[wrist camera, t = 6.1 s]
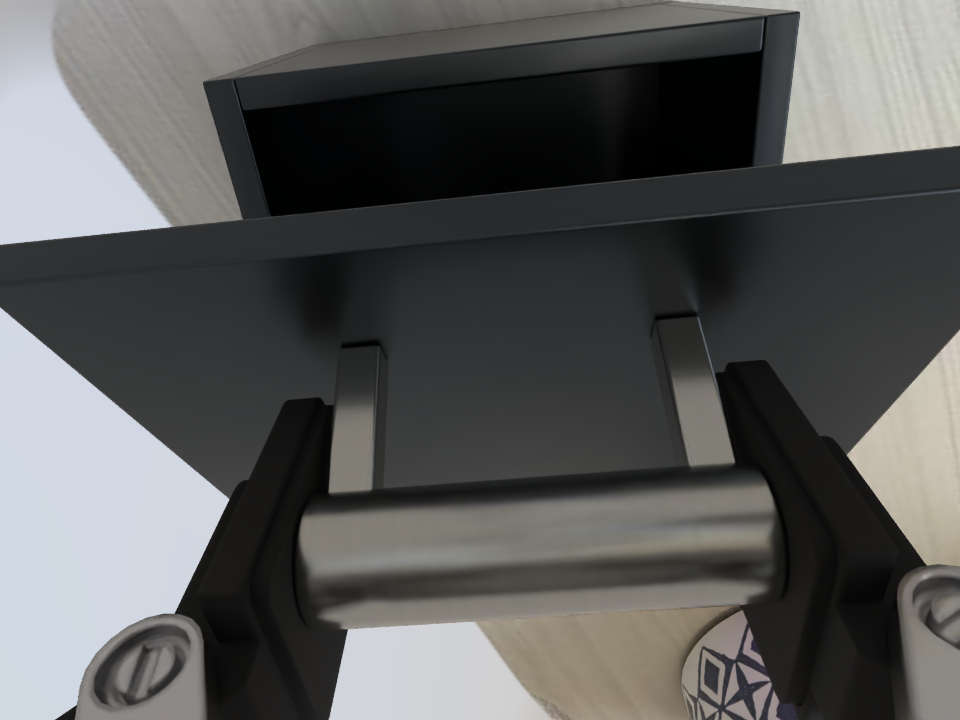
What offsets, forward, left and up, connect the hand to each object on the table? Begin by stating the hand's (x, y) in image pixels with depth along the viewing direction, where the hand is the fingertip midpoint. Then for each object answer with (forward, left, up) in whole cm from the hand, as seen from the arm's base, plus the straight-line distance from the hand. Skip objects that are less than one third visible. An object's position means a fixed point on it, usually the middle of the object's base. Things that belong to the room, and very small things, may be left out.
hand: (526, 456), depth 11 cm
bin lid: (+2, -3, -4) cm, 6 cm away
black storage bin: (+2, -2, -21) cm, 21 cm away
